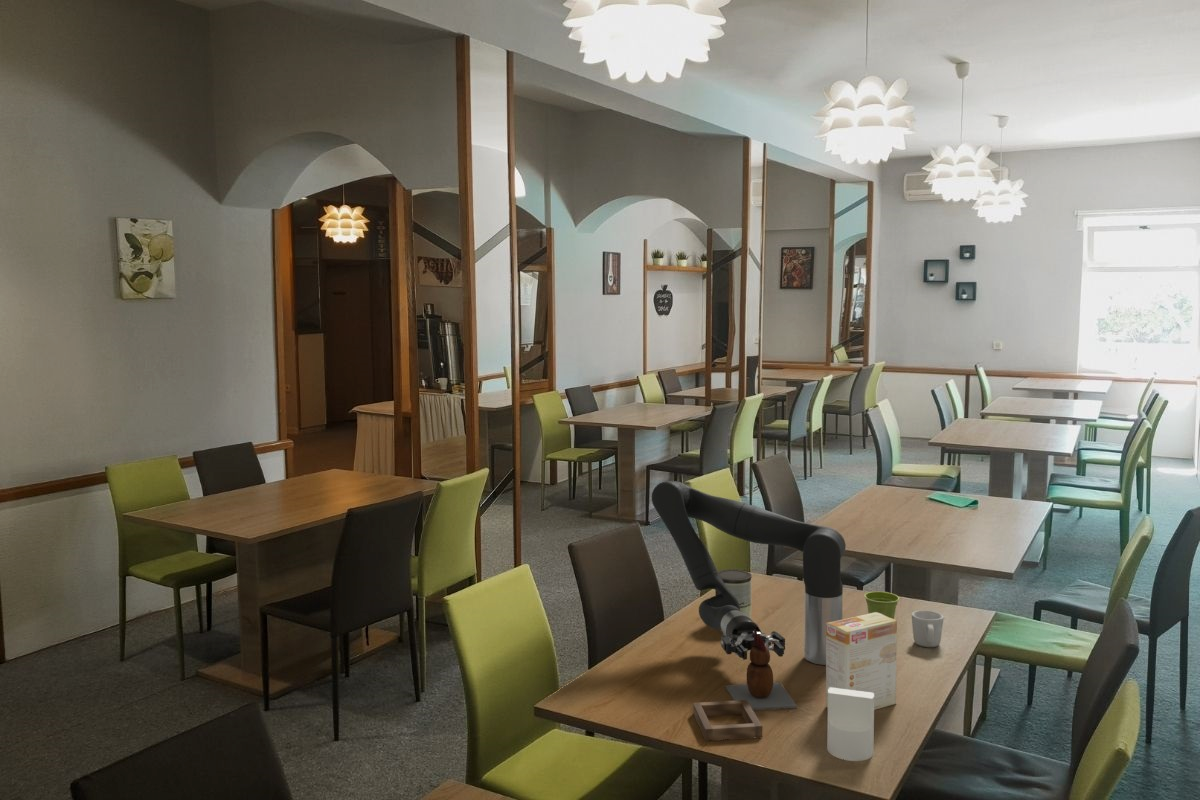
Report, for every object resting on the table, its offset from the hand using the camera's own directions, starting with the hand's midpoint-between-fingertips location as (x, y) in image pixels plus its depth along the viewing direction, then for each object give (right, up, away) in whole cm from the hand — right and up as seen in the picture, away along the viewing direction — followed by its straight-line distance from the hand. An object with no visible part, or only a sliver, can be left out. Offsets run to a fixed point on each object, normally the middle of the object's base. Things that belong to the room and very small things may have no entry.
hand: (763, 654), depth 208 cm
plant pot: (+42, -6, +49) cm, 64 cm away
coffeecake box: (+21, -11, -2) cm, 24 cm away
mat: (0, -11, +3) cm, 11 cm away
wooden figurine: (0, -10, +3) cm, 11 cm away
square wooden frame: (-10, -12, -11) cm, 19 cm away
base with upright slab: (+13, -13, -23) cm, 30 cm away
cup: (+49, -7, +33) cm, 60 cm away
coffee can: (+1, -6, +54) cm, 54 cm away
